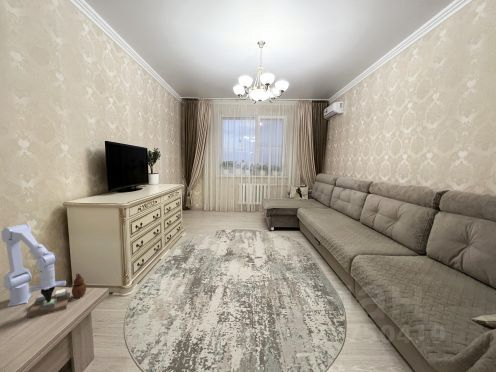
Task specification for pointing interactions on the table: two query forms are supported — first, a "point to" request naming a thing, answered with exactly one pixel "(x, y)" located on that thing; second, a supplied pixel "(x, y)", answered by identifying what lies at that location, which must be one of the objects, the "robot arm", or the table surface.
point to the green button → (49, 302)
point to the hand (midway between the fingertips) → (48, 301)
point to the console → (58, 305)
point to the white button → (60, 292)
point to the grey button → (40, 297)
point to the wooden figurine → (78, 287)
